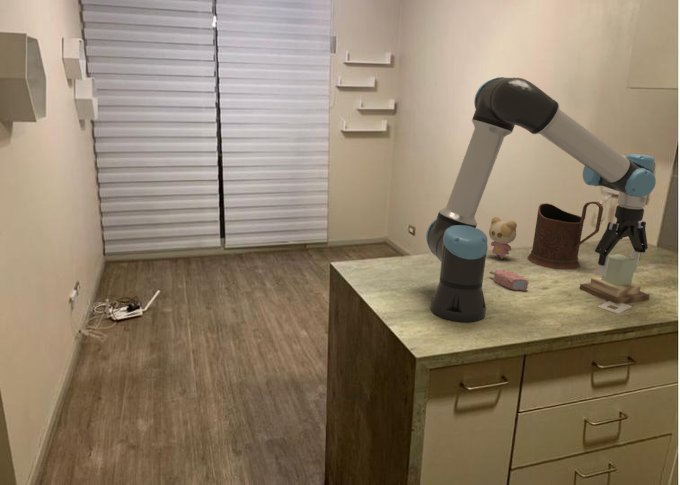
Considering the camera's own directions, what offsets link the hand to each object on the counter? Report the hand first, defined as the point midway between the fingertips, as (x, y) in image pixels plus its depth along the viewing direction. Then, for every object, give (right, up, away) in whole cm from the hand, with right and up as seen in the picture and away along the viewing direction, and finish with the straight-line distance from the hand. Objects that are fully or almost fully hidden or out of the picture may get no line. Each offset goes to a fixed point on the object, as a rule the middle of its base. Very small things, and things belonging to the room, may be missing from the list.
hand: (616, 273), depth 168 cm
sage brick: (0, -3, +1) cm, 3 cm away
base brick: (0, -7, +2) cm, 7 cm away
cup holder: (-6, +2, +30) cm, 31 cm away
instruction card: (-5, -10, -9) cm, 14 cm away
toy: (-27, +4, +33) cm, 43 cm away
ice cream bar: (-32, -4, +6) cm, 33 cm away
